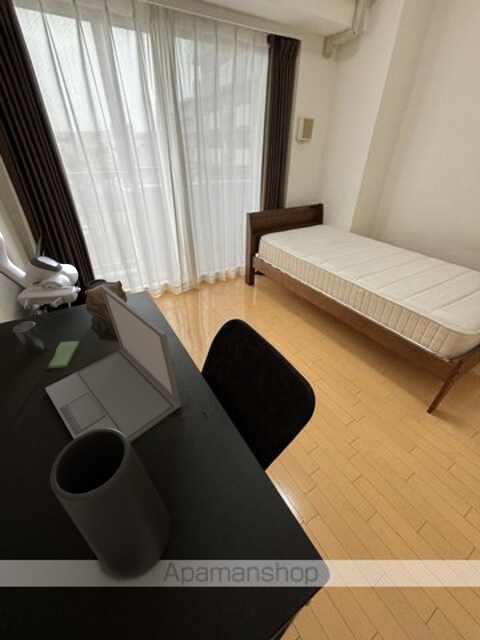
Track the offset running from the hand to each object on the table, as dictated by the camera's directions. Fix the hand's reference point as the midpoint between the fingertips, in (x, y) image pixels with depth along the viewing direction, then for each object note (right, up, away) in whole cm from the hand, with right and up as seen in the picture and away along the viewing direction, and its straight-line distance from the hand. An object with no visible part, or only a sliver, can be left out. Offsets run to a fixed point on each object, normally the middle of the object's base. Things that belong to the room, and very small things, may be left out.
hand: (39, 306), depth 105 cm
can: (+2, -17, -2) cm, 17 cm away
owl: (+26, -11, +6) cm, 29 cm away
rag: (+11, -17, -3) cm, 21 cm away
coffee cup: (+17, -2, +18) cm, 25 cm away
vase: (+53, -48, -47) cm, 86 cm away
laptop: (+36, -29, -19) cm, 50 cm away
